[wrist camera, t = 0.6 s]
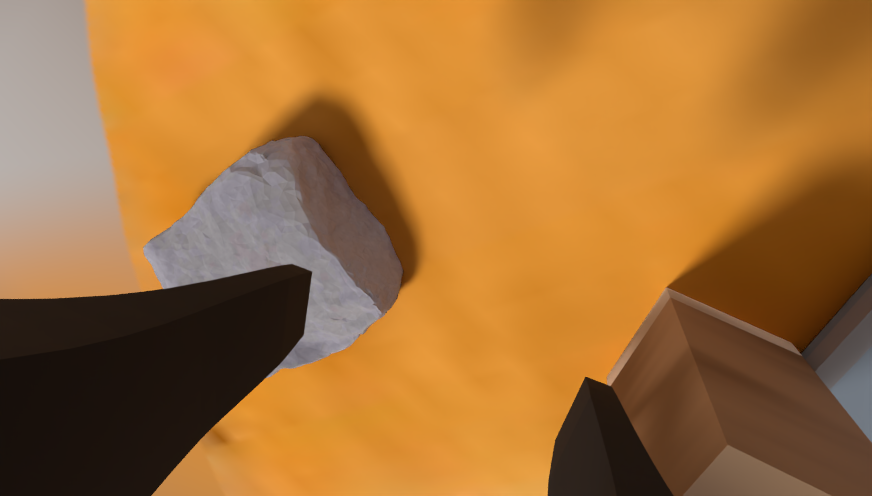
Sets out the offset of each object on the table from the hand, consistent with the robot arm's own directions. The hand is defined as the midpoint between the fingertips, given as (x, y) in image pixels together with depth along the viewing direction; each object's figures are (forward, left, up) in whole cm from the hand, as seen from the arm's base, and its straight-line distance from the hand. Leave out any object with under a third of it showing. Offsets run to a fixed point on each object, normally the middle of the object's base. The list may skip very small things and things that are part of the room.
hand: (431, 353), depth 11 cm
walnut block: (-2, -9, -10) cm, 14 cm away
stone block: (-6, +9, -10) cm, 15 cm away
